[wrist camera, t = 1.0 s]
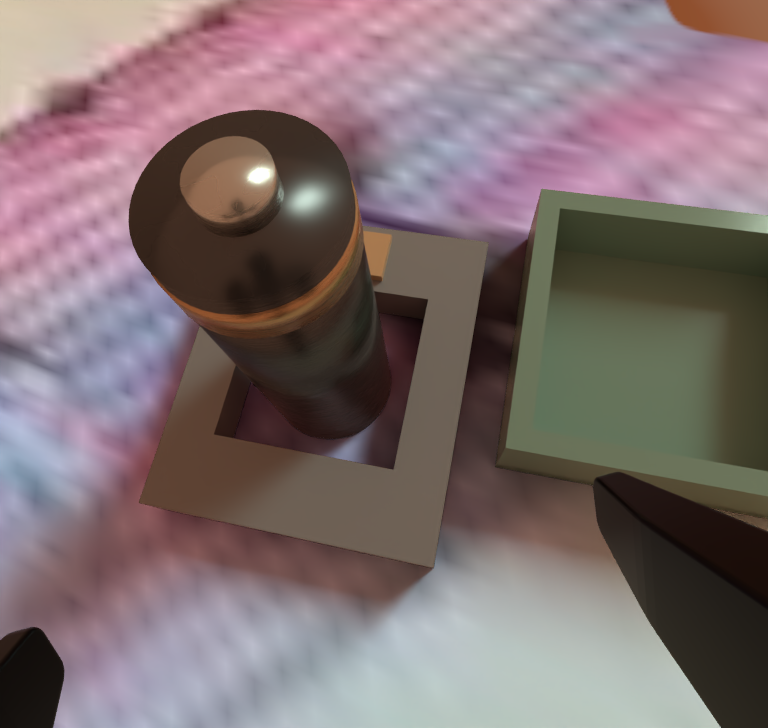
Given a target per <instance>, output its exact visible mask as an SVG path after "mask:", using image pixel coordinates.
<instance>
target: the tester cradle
mask: <svg viewBox="0 0 768 728" xmlns="http://www.w3.org/2000/svg"><path fill="white" fill-rule="evenodd" d="M363 234H364V245H365V250H366V255H367V260H368V264H369V269H370V274H371V279H372V284H373V289H374V294H375V298H376V303H377V308H378V312H379V313H386V314H392V315H398V316H405V317H411V318H418V319H424V322H423V327H422V332H421V337H420V342H419V347H418V352H417V357H416V362H415V367H414V372H413V376H412V381H411V386H410V391H409V396H408V401H407V406H406V411H405V416H404V421H403V426H402V431H401V436H400V440H399V445H398V450H397V455H396V460H395V465H394V470H392V469H387V468H382V467H377V466H372V465H367V464H362V463H357V462H352V461H347V460H341V459H336V458H331V457H326V456H321V455H316V454H311V453H306V452H301V451H296V450H291V449H285V448H280V447H275V446H270V445H265V444H260V443H255V442H250V441H245V440H240V439H234V435H235V432H236V429H237V425H238V422H239V419H240V415H241V412H242V409H243V405H244V402H245V399H246V396H247V392H248V389H249V386H250V382H251V381H250V380H249V379H248V377H247V376H246V375H245V374H244V373H243V372H242V371H241V370H240V369H239V368H238V367H237V366H236V364H235V363H234V362H233V361H232V360H231V359H230V358H229V357H228V356H227V355H226V354H225V353H224V351H223V350H222V349H221V348H220V347H219V346H218V345H217V344H216V343H215V342H214V341H213V340H212V338H211V337H210V336H209V335H208V334H207V333H206V332H205V331H204V330H203V329H202V328H201V327H199V330H198V333H197V336H196V339H195V342H194V344H193V347H192V350H191V353H190V356H189V359H188V362H187V365H186V368H185V370H184V373H183V376H182V379H181V382H180V385H179V388H178V391H177V394H176V396H175V399H174V402H173V405H172V408H171V411H170V414H169V417H168V420H167V422H166V425H165V428H164V431H163V434H162V437H161V440H160V443H159V445H158V448H157V451H156V454H155V457H154V460H153V463H152V466H151V469H150V471H149V474H148V477H147V480H146V483H145V486H144V489H143V492H142V495H141V497H140V500H139V503H141V504H145V505H149V506H153V507H157V508H161V509H165V510H169V511H174V512H179V513H183V514H188V515H192V516H197V517H201V518H206V519H210V520H215V521H219V522H224V523H229V524H233V525H238V526H242V527H247V528H251V529H256V530H260V531H265V532H269V533H274V534H279V535H283V536H288V537H292V538H297V539H301V540H306V541H310V542H315V543H319V544H324V545H329V546H333V547H338V548H342V549H347V550H351V551H356V552H360V553H365V554H369V555H374V556H379V557H383V558H388V559H392V560H397V561H401V562H406V563H410V564H415V565H419V566H424V567H428V568H434V562H435V556H436V550H437V544H438V539H439V533H440V527H441V521H442V515H443V509H444V503H445V497H446V491H447V486H448V480H449V474H450V468H451V462H452V456H453V450H454V444H455V438H456V433H457V427H458V421H459V415H460V409H461V403H462V397H463V391H464V385H465V380H466V374H467V368H468V362H469V356H470V350H471V344H472V338H473V332H474V327H475V321H476V315H477V309H478V303H479V297H480V291H481V285H482V279H483V274H484V268H485V262H486V256H487V249H488V242H481V241H473V240H466V239H458V238H451V237H443V236H436V235H428V234H421V233H413V232H406V231H398V230H391V229H383V228H376V227H368V226H363Z"/></svg>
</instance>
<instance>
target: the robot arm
mask: <svg viewBox="0 0 768 728" xmlns="http://www.w3.org/2000/svg"><path fill="white" fill-rule="evenodd" d="M593 490H594V499H595V508H596V517H597V522H598V526H599V529H600V531H601V533H602V535H603V537H604V539H605V541H606V543H607V545H608V547H609V549H610V550H611V552H612V554H613V556H614V558H615V560H616V562H617V564H618V565H619V567H620V569H621V571H622V573H623V575H624V577H625V579H626V580H627V582H628V584H629V586H630V588H631V590H632V592H633V594H634V595H635V597H636V599H637V601H638V603H639V605H640V607H641V608H642V610H643V612H644V614H645V615H646V617H647V619H648V621H649V622H650V624H651V625H652V627H653V628H654V630H655V631H656V633H657V635H658V636H659V637H660V639H661V640H662V642H663V643H664V645H665V646H666V648H667V649H668V651H669V652H670V654H671V655H672V657H673V658H674V659H675V661H676V662H677V664H678V665H679V667H680V668H681V670H682V671H683V673H684V674H685V676H686V677H687V679H688V680H689V681H690V683H691V684H692V686H693V687H694V689H695V690H696V692H697V693H698V695H699V696H700V698H701V699H702V701H703V702H704V703H705V705H706V706H707V708H708V709H709V711H710V712H711V714H712V715H713V717H714V718H715V720H716V721H717V723H718V724H719V725H720V727H721V728H768V531H765V530H763V529H760V528H758V527H755V526H753V525H750V524H748V523H746V522H743V521H741V520H738V519H736V518H733V517H731V516H728V515H726V514H723V513H721V512H719V511H716V510H714V509H711V508H709V507H706V506H704V505H701V504H699V503H696V502H694V501H692V500H689V499H687V498H684V497H682V496H679V495H677V494H674V493H672V492H669V491H667V490H665V489H662V488H660V487H657V486H655V485H652V484H650V483H647V482H645V481H642V480H640V479H637V478H635V477H633V476H630V475H628V474H625V473H622V472H613V473H609V474H605V475H602V476H598V477H596V478H595V479H594V483H593ZM63 681H64V666H63V662H62V660H61V659H60V657H59V655H58V654H57V652H56V651H55V649H54V648H53V646H52V644H51V643H50V641H49V640H48V638H47V637H46V635H45V633H44V632H43V631H42V630H41V629H39V628H37V627H30V628H26V629H23V630H19V631H15V632H12V633H10V634H8V635H6V636H5V637H3V638H2V639H1V640H0V728H53V726H54V721H55V717H56V712H57V708H58V703H59V699H60V694H61V690H62V685H63Z"/></svg>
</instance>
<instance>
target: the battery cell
mask: <svg viewBox="0 0 768 728" xmlns="http://www.w3.org/2000/svg"><path fill="white" fill-rule="evenodd" d="M129 230H130V236H131V239H132V243H133V246H134V248H135V250H136V253H137V255H138V257H139V258H140V260H141V261H142V263H143V264H144V266H145V267H146V268H147V269H148V270H149V271H150V272H151V274H152V276H153V277H154V279H155V280H156V282H157V283H158V284H159V285H160V287H161V288H162V289H163V290H164V291H165V292H166V293H167V294H168V295H169V296H170V297H171V298H172V299H173V300H174V302H175V303H176V304H177V305H178V306H179V307H180V308H181V309H182V310H183V311H184V312H185V313H186V314H187V315H188V316H189V317H190V318H191V319H193V320H194V321H195V322H196V323H198V324H199V325H200V327H201V328H202V329H203V330H204V331H205V332H206V333H207V334H208V335H209V336H210V337H211V338H212V340H213V341H214V342H215V343H216V344H217V345H218V346H219V347H220V348H221V349H222V350H223V351H224V353H225V354H226V355H227V356H228V357H229V358H230V359H231V360H232V361H233V362H234V363H235V364H236V366H237V367H238V368H239V369H240V370H241V371H242V372H243V373H244V374H245V375H246V376H247V377H248V379H249V380H250V381H251V382H252V383H253V384H254V385H255V386H256V387H257V388H258V389H259V390H260V392H261V393H262V394H263V395H264V396H265V397H266V398H267V399H268V400H269V401H270V402H271V403H272V405H273V406H274V407H275V408H276V409H277V410H278V411H279V412H280V413H281V414H282V415H283V416H284V418H285V419H286V420H287V421H288V422H289V423H290V424H291V425H292V426H293V427H295V428H296V429H297V430H299V431H301V432H302V433H304V434H307V435H309V436H312V437H316V438H321V439H338V438H344V437H347V436H351V435H353V434H355V433H358V432H359V431H361V430H363V429H364V428H366V427H367V426H369V425H370V424H371V423H372V422H373V421H374V420H375V419H376V418H377V417H378V415H379V414H380V413H381V411H382V410H383V408H384V407H385V404H386V402H387V400H388V397H389V393H390V388H391V372H390V366H389V362H388V357H387V352H386V347H385V342H384V337H383V332H382V328H381V323H380V318H379V313H378V308H377V303H376V298H375V294H374V289H373V284H372V279H371V274H370V269H369V264H368V260H367V255H366V250H365V245H364V234H363V226H362V220H361V215H360V210H359V205H358V200H357V196H356V192H355V188H354V185H353V182H352V180H351V177H350V173H349V170H348V166H347V163H346V161H345V159H344V157H343V155H342V153H341V151H340V150H339V149H338V147H337V146H336V144H335V143H334V142H333V141H332V140H331V139H330V138H329V137H328V136H327V135H326V134H325V133H324V132H323V131H321V130H320V129H319V128H318V127H316V126H314V125H312V124H311V123H309V122H307V121H305V120H303V119H300V118H298V117H296V116H292V115H289V114H285V113H281V112H275V111H266V110H248V111H238V112H232V113H227V114H223V115H220V116H216V117H213V118H210V119H208V120H205V121H202V122H200V123H198V124H196V125H194V126H192V127H190V128H189V129H187V130H185V131H184V132H182V133H180V134H179V135H177V136H176V137H175V138H173V139H172V140H171V141H170V142H168V143H167V144H166V145H165V146H164V147H163V148H162V149H161V150H160V151H159V152H158V153H157V154H156V155H155V156H154V157H153V158H152V160H151V161H150V162H149V163H148V165H147V166H146V168H145V169H144V171H143V172H142V174H141V176H140V178H139V180H138V182H137V184H136V186H135V189H134V192H133V195H132V198H131V203H130V208H129Z"/></svg>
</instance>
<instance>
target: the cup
mask: <svg viewBox="0 0 768 728" xmlns="http://www.w3.org/2000/svg"><path fill="white" fill-rule="evenodd" d="M495 467H498V468H504V469H509V470H514V471H519V472H525V473H530V474H535V475H540V476H546V477H551V478H556V479H561V480H567V481H572V482H577V483H582V484H588V485H593V483H594V479H595V478H596V477H598V476H602V475H605V474H609V473H613V472H622V473H625V474H628V475H630V476H633V477H635V478H637V479H640V480H642V481H645V482H647V483H650V484H652V485H655V486H657V487H660V488H662V489H665V490H667V491H669V492H672V493H674V494H677V495H679V496H682V497H684V498H687V499H689V500H692V501H694V502H696V503H699V504H701V505H704V506H706V507H709V508H714V509H719V510H724V511H729V512H735V513H740V514H745V515H750V516H756V517H761V518H766V519H768V216H767V215H759V214H750V213H742V212H734V211H725V210H717V209H708V208H700V207H691V206H683V205H674V204H666V203H657V202H649V201H640V200H632V199H623V198H615V197H606V196H598V195H589V194H581V193H572V192H564V191H555V190H547V189H541V193H540V196H539V200H538V203H537V207H536V211H535V214H534V218H533V221H532V225H531V229H530V232H529V236H528V241H527V248H526V255H525V262H524V268H523V275H522V282H521V289H520V296H519V303H518V310H517V317H516V324H515V331H514V338H513V345H512V352H511V359H510V366H509V373H508V380H507V387H506V394H505V401H504V408H503V415H502V422H501V429H500V436H499V442H498V449H497V456H496V463H495Z"/></svg>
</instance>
